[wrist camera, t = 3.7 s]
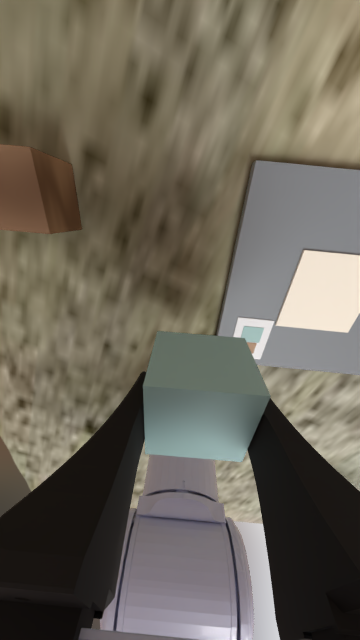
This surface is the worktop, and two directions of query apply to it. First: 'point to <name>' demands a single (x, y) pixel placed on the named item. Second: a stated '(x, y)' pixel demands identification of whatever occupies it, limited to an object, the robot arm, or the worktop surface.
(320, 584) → the robot arm
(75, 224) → the walnut cube
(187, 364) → the teal block
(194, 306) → the worktop surface
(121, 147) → the worktop surface
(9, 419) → the worktop surface
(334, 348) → the board
